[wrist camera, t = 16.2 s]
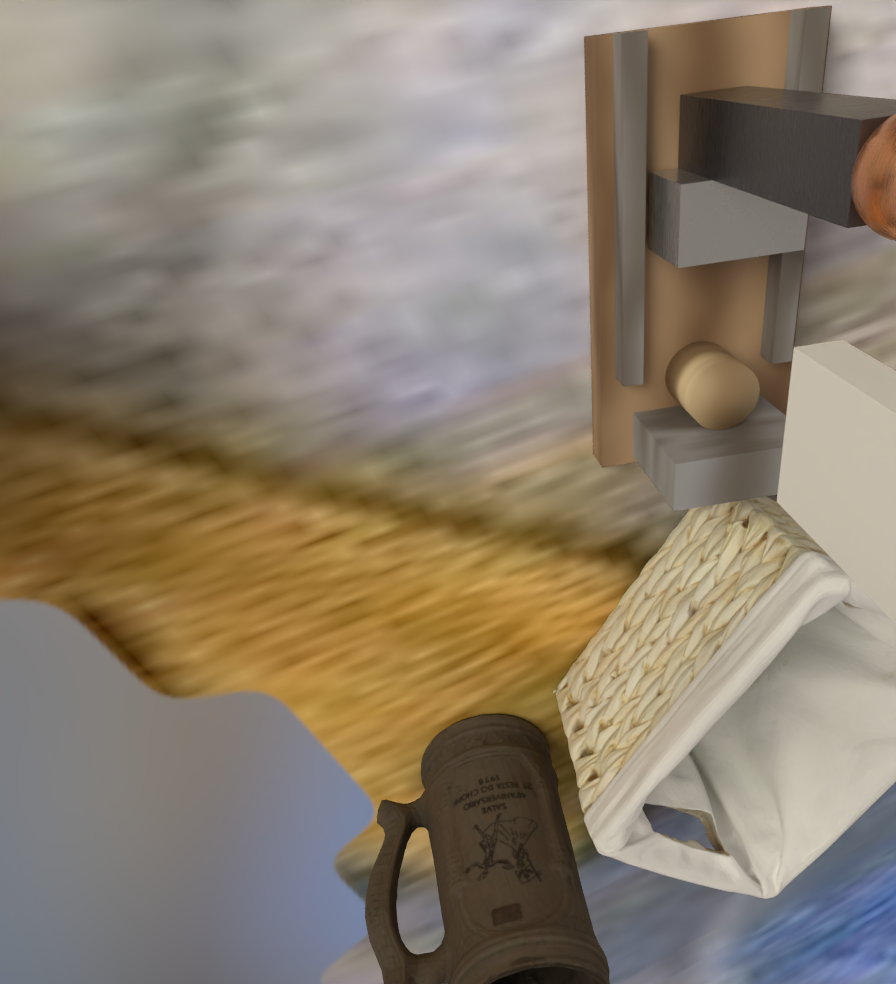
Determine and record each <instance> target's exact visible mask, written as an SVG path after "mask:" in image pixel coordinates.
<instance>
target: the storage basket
mask: <svg viewBox="0 0 896 984" xmlns="http://www.w3.org/2000/svg"><path fill="white" fill-rule="evenodd" d="M553 693H555V694H556V699H557V701H558V709H559V711H560V713H561V719H562V723H563V725H564V726H563V728H564V732H565V735H566V736H567V738H568V744H569V746H568V748H569V751H570V756H571V759H572V761H573V763H574V768H575V772H576V778H577V786H578V788H580V790H579V799H580V803H581V809H582V811H583V812H584V813H585V816H584V822H585V824H586V826H587V829H588V832H589V835H590V837H591V838H592V840H593V842H594V845H595V847H596V849H597V851H598V853H600V854H602V855H604V856H608V857H612V858H614V859H617V860H619V861H622V862H624V863H627V864H630V865H633V866H636V867H640V868H643V869H646V870H649V871H653V872H656V873H659V874H662V875H666V876H669V877H673V878H677V879H680V880H684V881H688V882H692V883H695V884H699V885H703V886H707V887H711V888H715V889H720V890H724V891H730V892H737V893H742V894H748V895H752V896H756V897H759V898H763V899H768V898H772V897H775V896H776V895H778V894H779V893H780V892H781V891H782V889H783V888H784V887H785V886H786V885H788V884H789V883H790V882H791V881H792V880H793V879H794V878H795V877H796V876H797V875H799V874H800V873H801V872H802V871H803V870H804V869H806V868H807V867H808V866H809V865H810V864H811V863H812V862H813V861H814V860H816V859H817V858H818V857H819V856H820V855H821V854H822V853H823V852H824V851H826V850H827V849H828V848H829V847H830V846H831V845H832V844H833V843H834V842H835V841H836V840H837V839H838V838H839V837H840V836H841V835H842V834H843V833H844V832H845V831H846V830H847V829H848V828H849V827H850V826H851V825H852V824H853V823H854V822H855V821H856V820H857V819H858V818H859V817H860V816H861V815H862V814H863V813H864V812H865V811H866V810H867V809H868V808H869V807H870V806H871V805H872V804H873V803H874V802H875V801H876V800H877V799H878V798H880V797H881V796H882V795H883V794H884V793H885V792H886V791H887V790H888V789H889V788H890V787H891V786H892V785H893V784H894V783H895V782H896V624H895V623H894V622H893V621H892V620H891V619H890V618H889V617H888V616H887V615H886V614H885V613H884V612H883V611H882V610H881V609H880V608H879V606H878V605H877V604H876V603H875V602H874V601H873V600H872V599H871V598H870V597H869V596H868V595H867V594H866V593H865V592H864V591H863V590H862V589H861V588H860V587H859V586H858V585H857V584H856V583H855V582H854V581H853V580H852V579H851V578H850V577H849V576H848V575H847V574H846V573H845V572H844V570H843V569H842V568H841V567H840V566H839V565H838V564H837V563H836V562H835V561H834V560H833V559H832V558H831V557H830V556H829V555H828V554H827V553H826V552H825V551H824V550H823V549H822V548H821V547H820V546H819V545H818V544H817V543H816V542H815V541H814V540H813V539H812V538H811V537H810V536H809V534H808V533H807V532H806V531H805V530H804V529H803V528H802V527H801V526H800V525H799V524H798V523H797V522H796V521H795V520H794V519H793V518H792V517H791V516H790V515H789V514H788V513H787V512H786V511H785V510H784V509H783V508H782V507H781V506H780V505H779V504H778V503H777V502H776V501H775V500H773V499H771V498H769V497H766V496H765V497H759V498H753V499H747V500H741V501H735V502H728V503H722V504H716V505H710V506H704V507H698V508H692V509H689V510H688V512H687V513H686V515H685V516H684V517H683V518H682V520H681V521H680V523H679V524H678V525H677V527H676V528H675V529H673V530H672V531H671V533H670V534H669V536H668V538H667V539H666V541H665V543H664V544H663V545H662V547H661V548H660V549H659V551H658V552H657V554H655V555H654V556H653V557H652V558H651V559H650V560H649V561H648V562H647V564H646V565H645V566H644V568H643V569H642V571H641V573H640V575H639V577H638V578H637V579H636V580H635V581H634V582H633V583H632V584H631V586H630V587H629V588H628V590H627V591H626V592H625V594H624V595H623V597H622V598H621V600H620V602H619V603H618V605H617V607H616V608H615V610H613V611H612V612H611V613H610V614H609V616H608V619H607V620H606V621H605V623H604V625H603V626H602V627H601V629H600V630H599V631H598V633H597V634H596V635H595V636H594V637H593V638H591V640H590V642H589V643H588V646H587V647H586V649H585V650H584V651H583V652H582V654H581V655H580V656H579V658H578V659H577V661H576V662H575V663H573V664H572V666H571V667H570V670H569V671H568V673H567V674H566V675H565V677H564V678H563V679H562V681H561V682H560V683H559V684H558V685H557V689H555V690H554V691H553ZM644 803H645V804H651V805H662V806H666V807H668V808H673V809H675V810H678V811H680V812H685V813H687V814H689V815H694V816H695V817H697V818H699V819H700V820H701V822H702V824H703V825H704V827H705V828H706V835H707V837H708V839H709V841H710V842H711V844H712V846H713V847H714V849H715V850H712V849H709V848H704V847H703V846H702V845H701V844H699V843H698V842H696V841H694V840H690V841H686V842H683V841H680V840H678V839H676V838H674V837H673V838H670V837H669V836H668V835H666V834H659V833H657V832H654V831H653V830H652V828H651V824H650V822H649V821H648V819H647V817H646V816H645V813H644V811H643V809H642V808H643V806H644Z"/></svg>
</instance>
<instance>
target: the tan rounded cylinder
mask: <svg viewBox="0 0 896 984" xmlns="http://www.w3.org/2000/svg"><path fill="white" fill-rule="evenodd" d="M665 382H666V387H667V389H668V391H669V393H670V394H671V395H672V396H673V397H674V399H675V400H676V401H677V402H678V403H679V404H680V405H681V406H682V407H683V408H684V409H685V410H686V411H687V412H688V413H689V414H690V415H691V416H692V417H693V418H694V419H695V420H696V421H697V422H698V423H699V424H700V425H701V426H703V427H705V428H707V429H711V430H724V429H728V428H731V427H734V426H736V425H738V424H739V423H741V422H742V421H743V420H745V419H746V418H747V417H748V416H749V415H750V413H751V412H752V411H753V409H754V408H755V406H756V404H757V401H758V398H759V391H760V388H759V382H758V379H757V377H756V375H755V374H754V373H753V372H752V371H751V370H750V369H749V368H747V367H746V366H745V365H744V364H742V363H741V362H740V361H738V360H737V359H736V358H735V357H733V356H732V355H731V354H729V353H728V352H727V351H725V350H724V349H723V348H722V347H720V346H719V345H717V344H716V343H713V342H709V341H698V342H694V343H691V344H688V345H686V346H685V347H683V348H682V349H680V350H679V351H678V352H677V353H676V354H675V355H674V356H673V358H672V359H671V361H670V362H669V364H668V367H667V370H666V374H665Z"/></svg>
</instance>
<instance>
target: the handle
mask: <svg viewBox="0 0 896 984" xmlns="http://www.w3.org/2000/svg"><path fill="white" fill-rule="evenodd" d="M808 214H809V215H812V216H815V217H817V218H820V219H823V220H826V221H829V222H832V223H834V224H837V225H840V226H843V227H846V228H850V227H857V226H864V225H868V226H869V227H870V228H871V229H872V230H873V231H875V232H876V233H878V234H879V235H881V236H883V237H886V238H888V239H890V240H895V241H896V100H893V99H883V98H872V97H862V96H851V95H841V94H830V93H820V92H809V91H798V90H788V89H777V88H767V87H756V86H741V87H733V88H726V89H718V90H711V91H703V92H696V93H688V94H681V95H680V117H679V148H678V168H675V169H668V170H661V171H654V172H649V227H648V249H649V250H651V251H652V252H654V253H655V254H657V255H658V256H660V257H661V258H663V259H664V260H666V261H668V262H669V263H671V264H672V265H674V266H675V267H677V268H683V267H690V266H697V265H703V264H710V263H717V262H724V261H731V260H738V259H744V258H751V257H758V256H765V255H772V254H779V253H785V252H792V251H799V250H804V246H805V237H806V228H807V219H808Z"/></svg>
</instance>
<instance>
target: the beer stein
mask: <svg viewBox="0 0 896 984" xmlns="http://www.w3.org/2000/svg"><path fill="white" fill-rule="evenodd" d="M421 777H422V783H423V785H424V788H425V791H424V793H423V794H422V796H421V797H420V798H419V799H417V800H416V801H414V802H411V803H408V804H401V803H396V802H392V801H389V800H382V801H381V804H380V806H379V809H378V815H377V823H378V824H379V825H380V826H381V827H382V828H383V829H384V832H385V839H384V842H383V845H382V848H381V850H380V853H379V855H378V857H377V860H376V862H375V865H374V868H373V870H372V873H371V875H370V879H369V884H368V889H367V894H366V905H365V919H366V925H367V930H368V935H369V939H370V943H371V945H372V948H373V950H374V953H375V955H376V958H377V960H378V962H379V965H380V967H381V970H382V975H383V981H384V984H610V983H609V967H608V962H607V958H606V956H605V954H604V952H603V950H602V948H601V947H600V945H599V943H598V941H597V939H596V936H595V934H594V931H593V927H592V923H591V920H590V916H589V912H588V909H587V905H586V901H585V898H584V894H583V890H582V886H581V882H580V878H579V874H578V870H577V865H576V861H575V857H574V853H573V848H572V844H571V840H570V837H569V833H568V829H567V825H566V822H565V818H564V814H563V811H562V807H561V803H560V799H559V794H558V778H557V775H556V772H555V770H554V768H553V767H552V762H551V755H550V750H549V746H548V743H547V741H546V739H545V737H544V736H543V735H542V734H541V733H540V731H539V730H538V729H537V728H536V727H534V726H533V725H531V724H530V723H528V722H527V721H525V720H523V719H519V718H516V717H512V716H508V715H498V714H496V715H481V716H476V717H473V718H469V719H465V720H461V721H459V722H457V723H455V724H453V725H451V726H449V727H448V728H446V729H445V730H443V731H442V732H441V733H439V734H438V735H437V736H436V737H435V738H434V739H433V740H432V741H431V743H430V744H429V746H428V747H427V749H426V751H425V753H424V756H423V758H422V762H421ZM418 827H425V828H426V829H427V830H428V832H429V838H430V843H431V848H432V853H433V859H434V865H435V871H436V878H437V885H438V892H439V899H440V905H441V911H442V918H443V924H444V929H445V935H444V938H443V941H442V944H441V945H440V946H439V947H438V948H437V949H436V950H435V951H434V952H430V953H424V954H419V955H417V954H413V953H411V952H410V951H409V950H408V949H407V948H406V946H405V945H404V943H403V942H402V940H401V937H400V934H399V929H398V922H397V911H396V900H397V886H398V878H399V873H400V868H401V864H402V860H403V856H404V852H405V849H406V845H407V842H408V840H409V838H410V836H411V834H412V832H413V831H414V830H415V829H416V828H418Z"/></svg>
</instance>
